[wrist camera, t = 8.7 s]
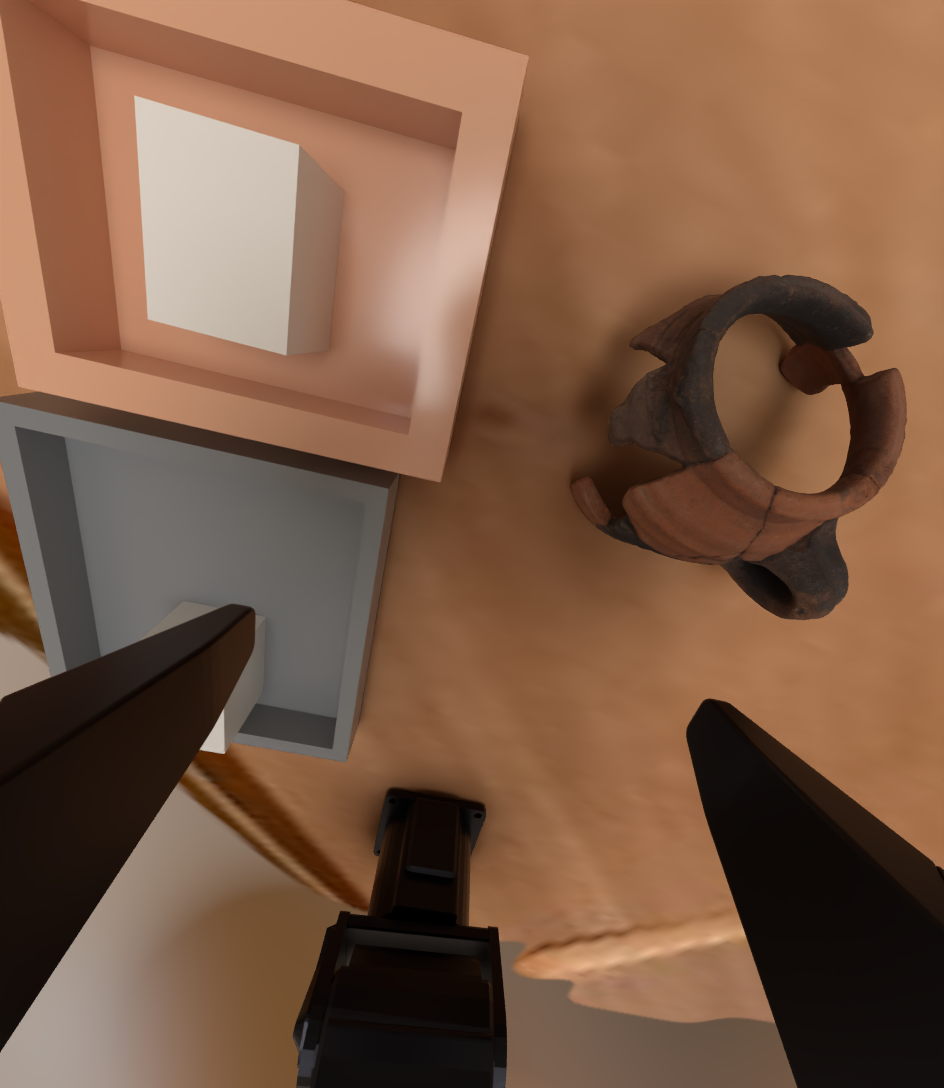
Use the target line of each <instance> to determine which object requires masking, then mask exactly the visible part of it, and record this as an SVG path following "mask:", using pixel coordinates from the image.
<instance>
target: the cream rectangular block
mask: <svg viewBox="0 0 944 1088" xmlns="http://www.w3.org/2000/svg"><path fill="white" fill-rule="evenodd" d="M134 100H135V117H136V133H137V150H138V166H139V183H140V199H141V215H142V232H143V248H144V265H145V281H146V298H147V314H148V320H152V321H156V322H160V323H164V324H168V325H171V326H175V327H179V328H183V329H187V330H191V331H194V332H198V333H202V334H206V335H210V336H214V337H217V338H221V339H225V340H229V341H233V342H237V343H240V344H244V345H248V346H252V347H256V348H260V349H263V350H267V351H271V352H275V353H279V354H283V355H295V354H305V353H314V352H323V351H329V343H330V333H331V323H332V313H333V303H334V293H335V283H336V273H337V262H338V252H339V242H340V232H341V222H342V212H343V202H344V192H345V191H344V190H343V189H342V188H341V187H340V186H339V185H338V184H337V183H336V182H335V181H334V180H333V179H332V178H331V177H330V176H329V175H328V174H327V173H326V172H325V171H324V170H323V169H322V168H321V167H320V166H319V165H318V164H317V163H316V162H315V161H314V159H313V158H312V157H311V156H310V155H309V154H308V153H307V152H306V151H305V150H304V149H303V148H302V147H301V146H300V145H298V144H295V143H291V142H288V141H285V140H281V139H278V138H275V137H271V136H268V135H265V134H261V133H258V132H255V131H251V130H248V129H245V128H241V127H238V126H235V125H231V124H228V123H225V122H221V121H218V120H215V119H211V118H208V117H205V116H201V115H198V114H195V113H191V112H188V111H185V110H181V109H178V108H175V107H171V106H168V105H165V104H161V103H158V102H155V101H151V100H148V99H145V98H141V97H138V96H135V95H134Z"/></svg>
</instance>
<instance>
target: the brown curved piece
mask: <svg viewBox="0 0 944 1088" xmlns="http://www.w3.org/2000/svg"><path fill="white" fill-rule="evenodd" d="M748 314H764V315H767V316H769V317H770V318H771V319H773V320H774V321H776V322H777V323H778V324H779V325H780V326H781V327H782V328H783V330H784V331H785V332H786V333H787V334H788V335H789V336H790V338H791V339H792V340H793V341H794V342H795V343H796V345H795V346H794V347H793V348H792V349H791V350H790V352H789V353H788V355H787V357H786V359H785V360H784V361H783V362H782V364H781V367H780V368H781V370H782V372H783V374H784V376H786V377H787V378H788V380H789V381H790V382H791V383H792V384H793V385H795V386H796V387H797V388H798V389H800V390H801V391H802V392H804V393H805V394H807V395H813V394H817V393H820V392H822V391H823V390H825V389H826V388H827V387H828V386H830V385H834V384H841V386H842V390H843V392H844V395H845V398H846V401H847V406H848V411H849V418H850V426H851V428H850V435H851V439H850V445H849V450H848V454H847V460H846V464H845V466H844V470H843V472H842V475H841V476H840V478H839V480H838V481H837V482H836V483H835V484H834V485H833V486H831V487H830V488H829V489H827V490H825V491H823V492H820V493H815V494H804V493H797V492H792V491H789V490H786V489H783V488H781V487H778V486H774V485H773V484H772V483H771V482H769V481H767V480H766V479H764V478H763V477H761V476H760V475H759V474H757V473H756V472H755V471H754V470H753V469H752V468H751V467H750V466H749V465H748V464H747V463H746V462H745V461H744V460H743V459H742V458H741V457H740V456H739V454H738V453H737V452H736V451H734V450H733V449H732V448H731V447H730V445H729V442H728V439H727V437H726V434H725V432H724V430H723V428H722V425H721V422H720V420H719V418H718V415H717V412H716V407H715V403H714V392H713V370H714V361H715V357H716V354H717V350H718V346H719V342H720V340H721V339H722V337H723V336H724V335H725V333H726V331H727V330H728V328H729V327H730V326H731V325H732V324H733V323H734V322H735V321H736V320H737V319H739V318H741V317H743V316H745V315H748ZM872 336H873V329H872V325H871V319H870V316H869V315H868V313H867V312H866V310H864V309H863V308H862V307H861V306H859V305H858V304H857V302H856V301H854V300H853V299H851V298H850V297H849V296H848V295H846V294H843V293H841V292H840V291H839V290H837V289H836V288H834V287H832V286H831V285H829V284H826V283H823V282H821V281H819V280H816V279H812V278H810V277H804V276H794V275H785V276H782V277H780V276H777V275H771V276H758V277H756V278H754V279H752V280H750V281H746V282H744V283H742V284H739V285H737V286H735V287H733V288H731V289H730V290H728V291H727V292H725V293H724V294H722V295H708V296H704V297H702V298H700V299H697V300H695V301H693V302H691V303H690V304H688V305H686V306H684V307H683V308H682V309H681V310H679V311H677V312H676V313H674V314H672V315H670V316H669V317H667V318H665V319H663V320H662V321H660V322H659V323H657V324H655V325H653V326H651V327H649V328H647V329H646V330H645V331H643V332H642V333H641V334H639V335H638V336H636V337H635V338H634V339H632V340H631V342H630V347H631V348H632V349H635V350H644V351H648V352H650V353H651V354H652V355H654V356H655V357H657V358H659V359H660V360H662V361H664V362H665V363H666V365H664V366H662V367H660V368H658V369H656V370H654V371H651V372H649V373H647V374H646V375H645V377H644V378H642V379H641V380H640V381H639V382H637V383H636V385H635V386H634V387H633V389H632V390H631V392H630V394H629V396H628V397H627V399H626V401H625V402H624V403H622V404H621V405H620V406H618V407H617V408H616V409H615V410H614V411H613V412H612V414H611V417H610V424H609V441H610V444H611V445H612V446H614V447H619V446H625V445H630V444H633V443H635V444H636V445H638V446H639V447H641V448H643V449H645V450H649V451H653V452H657V453H660V454H662V455H664V456H667V457H669V458H670V459H672V460H675V461H677V462H679V463H681V464H683V466H682V467H681V468H680V469H678V470H677V471H675V472H672V473H670V474H668V475H666V476H664V477H662V478H659V479H657V480H654V481H651V482H647V483H641V484H637V485H634V486H632V487H630V488H629V489H628V492H627V493H626V494H625V495H624V497H623V501H622V505H623V507H624V509H625V511H626V512H627V514H628V515H625V516H624V517H623V518H621V519H619V518H615V517H613V516H612V514H611V513H610V511H609V510H608V508H607V507H606V505H605V504H604V502H603V500H602V498H601V497H600V494H599V492H598V491H597V489H596V486H595V484H594V482H593V480H592V479H591V478H590V477H584V478H581V479H579V480H577V481H575V482H573V483H571V491H572V493H573V495H574V498H575V500H576V502H577V504H578V505H579V507H580V508H581V510H582V511H583V513H584V514H585V515H586V516H587V517H588V519H589V520H590V521H591V522H592V523H594V524H595V525H596V527H597V528H598V529H600V530H601V531H603V532H604V533H606V534H607V535H609V536H611V537H613V538H615V539H617V540H620V541H622V542H626V543H629V544H632V545H636V546H638V547H640V548H643V549H647V550H651V551H653V552H655V553H658V554H661V555H664V556H667V557H670V558H674V559H678V560H682V561H688V562H692V563H699V564H708V565H713V564H719V565H721V566H722V567H723V568H724V569H725V570H726V571H727V572H728V573H729V575H730V576H731V577H732V579H733V580H734V581H735V582H736V583H737V584H738V585H739V587H740V588H741V589H742V590H743V591H744V592H745V593H746V594H747V595H748V596H749V597H751V598H752V599H753V600H754V601H755V602H756V603H758V604H759V605H760V606H761V607H763V608H764V609H766V610H767V611H769V612H771V613H773V614H774V615H776V616H778V617H780V618H784V619H796V620H808V619H817V618H821V617H824V616H826V615H827V614H829V613H830V612H831V611H832V610H833V609H834V607H835V606H836V605H837V604H838V603H840V602H841V601H842V599H843V598H844V597H845V595H846V593H847V590H848V570H847V566H846V563H845V561H844V559H843V557H842V555H841V552H840V550H839V547H838V544H837V541H836V525H837V521H838V517H841V516H843V515H845V514H848V513H850V512H852V511H854V510H856V509H858V508H860V507H861V506H863V505H864V504H865V503H867V502H868V501H869V500H871V499H872V498H873V497H874V496H875V495H877V494H878V492H879V490H880V488H881V487H883V486H884V485H885V483H886V482H887V480H888V478H889V476H890V475H891V474H892V472H893V469H894V467H895V466H896V463H897V460H898V458H899V456H900V453H901V451H902V446H903V443H904V439H905V425H906V422H907V417H906V414H907V409H906V397H905V388H904V384H903V380H902V377H901V374H900V372H899V370H898V369H897V368H892V369H888V370H884V371H880V372H877V373H875V374H873V375H870V376H864V375H863V373H862V372H861V369H860V367H859V364H858V362H857V361H856V359H855V358H854V356H853V355H852V354H851V352H850V351H849V350H848V348H847V347H851V346H855V345H858V344H861V343H865V342H867V341H868V340H869V339H871V337H872Z"/></svg>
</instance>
